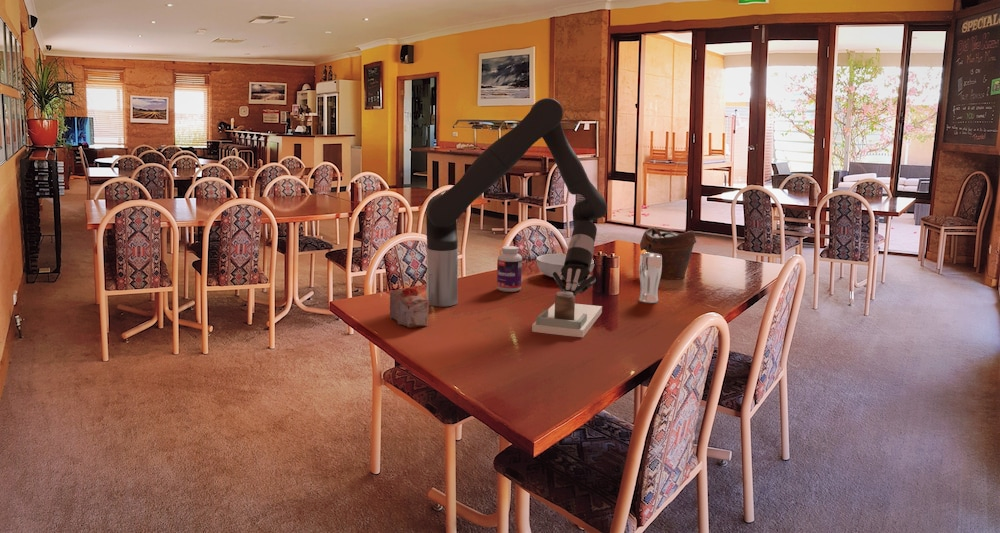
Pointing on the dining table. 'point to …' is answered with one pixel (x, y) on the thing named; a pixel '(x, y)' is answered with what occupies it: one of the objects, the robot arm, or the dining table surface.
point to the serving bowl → (554, 264)
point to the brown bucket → (670, 250)
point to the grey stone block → (409, 308)
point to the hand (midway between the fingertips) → (568, 303)
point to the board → (567, 321)
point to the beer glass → (650, 276)
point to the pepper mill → (564, 305)
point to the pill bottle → (509, 269)
